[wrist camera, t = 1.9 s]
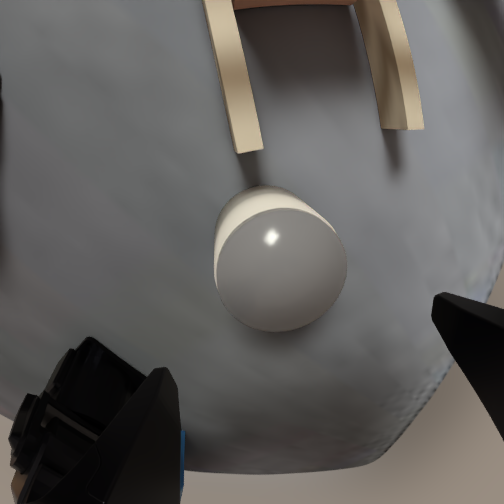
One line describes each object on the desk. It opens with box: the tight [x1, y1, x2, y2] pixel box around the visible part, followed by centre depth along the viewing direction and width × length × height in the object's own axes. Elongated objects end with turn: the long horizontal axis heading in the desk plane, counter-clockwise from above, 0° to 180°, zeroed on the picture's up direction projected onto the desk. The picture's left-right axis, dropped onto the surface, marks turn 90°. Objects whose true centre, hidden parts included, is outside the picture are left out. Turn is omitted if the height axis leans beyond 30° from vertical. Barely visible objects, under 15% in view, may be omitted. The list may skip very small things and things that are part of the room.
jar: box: [214, 185, 347, 332], centre depth 16 cm, size 6×6×6 cm
